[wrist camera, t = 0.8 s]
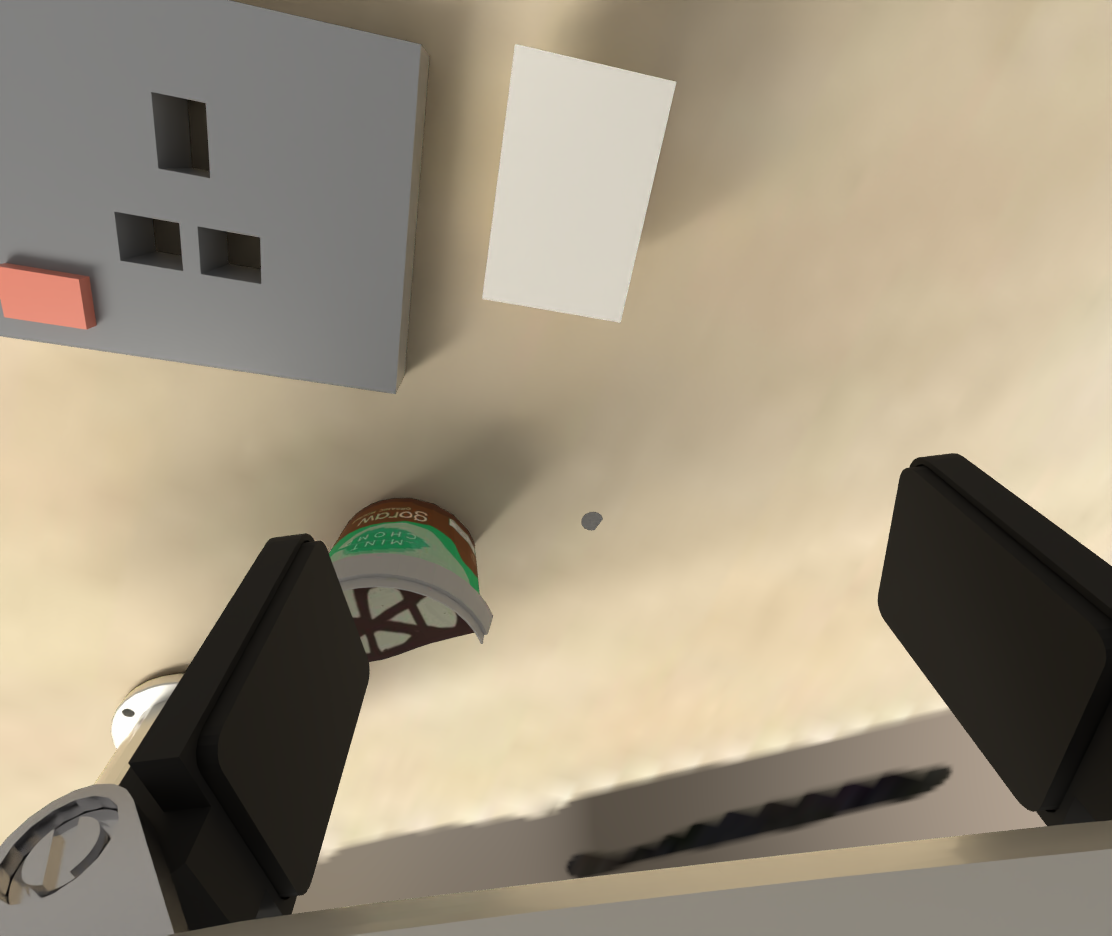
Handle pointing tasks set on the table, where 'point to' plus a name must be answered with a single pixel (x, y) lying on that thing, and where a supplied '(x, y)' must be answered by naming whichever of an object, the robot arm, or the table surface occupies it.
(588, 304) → the plug
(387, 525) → the food container
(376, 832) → the table surface
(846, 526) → the table surface
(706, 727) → the table surface
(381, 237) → the socket
